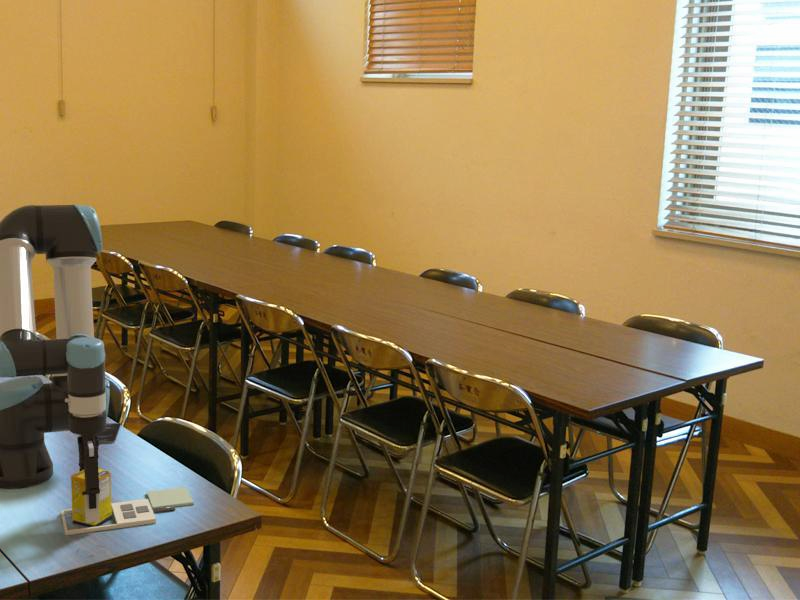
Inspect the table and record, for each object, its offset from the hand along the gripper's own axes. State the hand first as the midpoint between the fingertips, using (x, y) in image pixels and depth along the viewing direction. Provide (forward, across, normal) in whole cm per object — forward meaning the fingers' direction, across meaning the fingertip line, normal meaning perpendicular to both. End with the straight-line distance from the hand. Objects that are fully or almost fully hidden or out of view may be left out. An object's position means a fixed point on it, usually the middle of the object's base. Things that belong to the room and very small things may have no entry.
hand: (89, 511), depth 204 cm
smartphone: (+3, -54, +9) cm, 55 cm away
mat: (+2, -6, +18) cm, 19 cm away
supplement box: (+2, 0, 0) cm, 2 cm away
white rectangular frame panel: (+2, 0, +6) cm, 7 cm away
